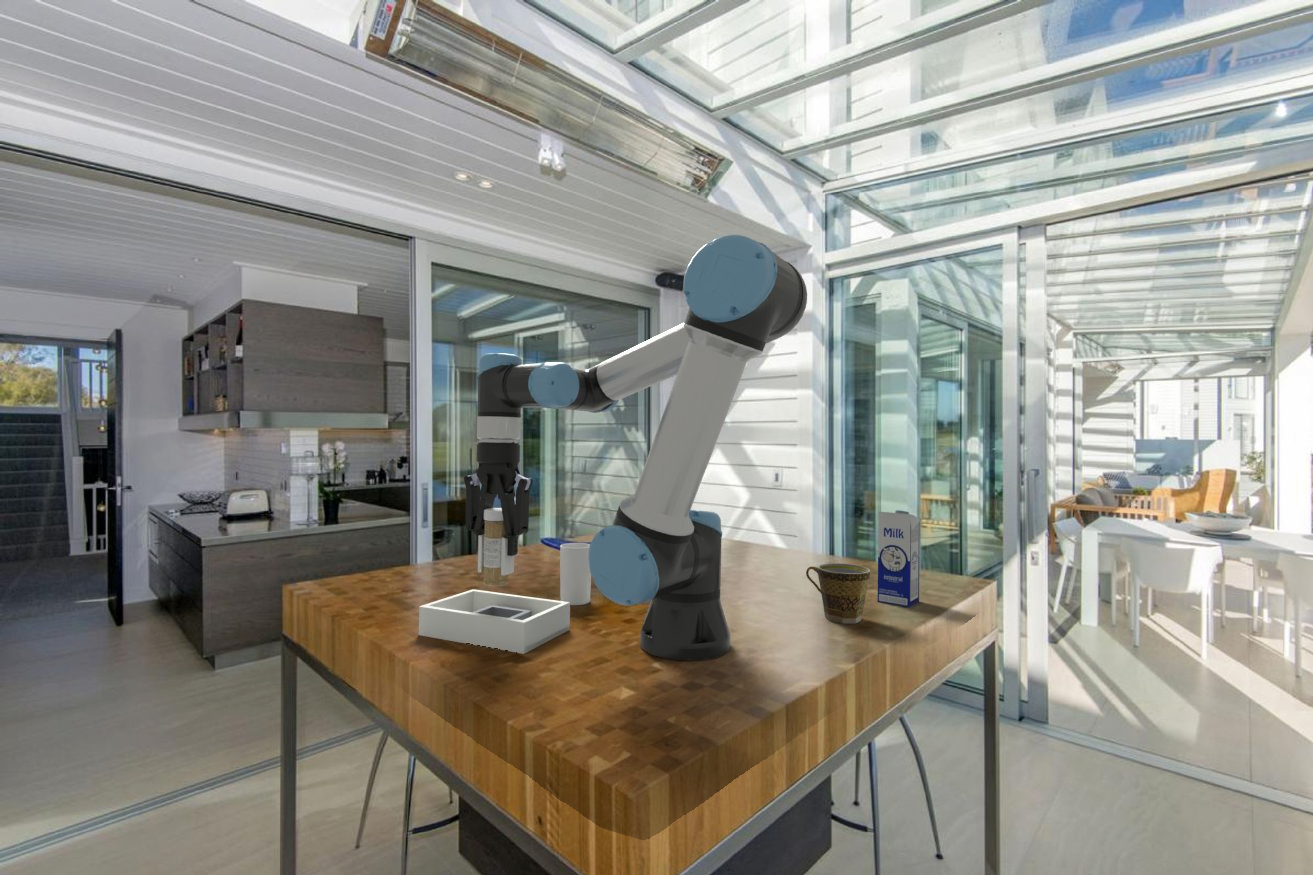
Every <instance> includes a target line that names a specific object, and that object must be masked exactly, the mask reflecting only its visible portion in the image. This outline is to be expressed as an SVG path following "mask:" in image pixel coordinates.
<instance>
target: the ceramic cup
mask: <svg viewBox="0 0 1313 875" xmlns="http://www.w3.org/2000/svg"><path fill="white" fill-rule="evenodd" d="M810 570H812V571H814V572H815V573H817V576H818V582H819V585H818V584H817V583H816V582H815V581H814V580H813V579H812V577H811V576H810V575H809V572H810ZM805 572H806V573H805V574H806V578H807V580H809V581H810V582H811V583H812V584H813V585H814V587H815V588H816V589H817V591H818V592H819V593H820V594H821V598H822V599H821V600H822V605H823V612H824V617H825V618H826V619H827V620H828V621H829V622H832V623H838V624H846V625H849V624H854V625H855V624H858V623H859V622H861V620H862V617H863V611H864V607H865V601H866V596H867V591H868V588H869V582H870V577H871V570H870V569H869V568H867V567H865V566H862V565H858V564H852V563H850V564H849V563H837V562H834V563H822V564H819V565H817V566H814V565H813V566H809V567H808V568H806V571H805Z"/></svg>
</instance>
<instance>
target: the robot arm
mask: <svg viewBox="0 0 1313 875" xmlns="http://www.w3.org/2000/svg"><path fill="white" fill-rule="evenodd" d="M682 286H683V287H682V288H683V289H682V290H683V294H684V295H685V302H686V303H687V305H688V307H689V309H688V310H687V313H686V315H685V316H686V317H685V320H684V322H682V323H680V324H679V325H678V324H677V325H676V326H674V327H672V328H670V329H668V330H666V331H664V332H662V333H660V334H658V335H655V336H653V337H652V338H650V339H648V340H646V341H643V342H641V343H639V344H637V345H635V346H633V347H630V348H629V349H627V350H625V351H623V352H620V353H619V354H617V355H614V356H612V357H610V358H608V359H606V360H603V361H602V362H600V363H598V364H597V365H594V366H592V367H589V368H587V369H579V368H574V367H571V365H569V364H568V363H566V362H554V361H545V362H542V363H541V362H539V363H538V362H537V363H529V364H527V363H526V364H523V360H522V357H520V356H519V355H516V354H511V353H505V352H504V353H501V352H499V353H498V352H497V353H494V352H491V353H484V354H483V355H481V356H480V358H479V363H478V373H477V377H476V378H477V422H476V439H477V440H478V439H479V440H480V442H477V444H476V458H475V459H476V462H477V463H478V466H477V467H478V468H477V470H476V472H475V473H473V474H470V475H465V476H463V482H464V485H465V489H466V490H465V493H466V498H465V501H466V503H465V528H466V530H467V531H471V532H473V534H475V542H474V543H475V545H474V546H475V548H474V550H475V553H477V572H478V573H484V565H483V563H484V534H485V520H484V510H485V509H489V508H494V504H495V500H496V497H497V498H498V500H499V501H500V508H502V514H503V520H504V527H505V533H506V535H503V537H504V538H502V552H501V575H504V576H505V575H508V576H509V575H511V574H513V573H515V556H516V555H518V552H519V551H518V550H519V549H518V548H519V537H520V536H521V535H525V534H527V533H528V532H529V521H530V517H529V516H530V495H531V494H530V492H531V488H532V486H533V483H534V480H533V478H532V477H525V476H523V475H521V471H520V469H519V464H520V461H521V445H520V443H519V442H518V441H517V440H520V439H521V417H522V409H523V408H527V409H528V408H529V409H532V408H538V409H551V410H552V409H553V410H568V411H579V412H588V413H591V414H592V413H595V414H597V413H603V412H605V413H606V412H610V411H612V410H613V409H614V408H615V407H616V406H617V404H618V403H619V401H620V400H621V399H625V398H627V397H629V396H632V395H633V394H636V393H638V392H640V391H643V390H645V389H647V388H649V387H653V386H655V385H657V384H659V383H661V382H665V381H666V380H668V379H671V378H673V377H675V376H676V377H675V380H674V383H673V386H672V388H671V391H670V393H669V397H668V399H667V403H666V405H665V408H664V411H663V413H662V416H661V418H660V421H659V425H658V427H657V430H656V433H655V435H654V437H653V442H652V444H651V446H650V449H649V452H648V456H647V458H646V461H645V464H644V467H643V469H642V472H641V475H640V478H639V479H638V480H639V481H638V482H637V483H638V484H637V486H636V488H635V491H634V493H633V494H632V495H630V496H628V497H625V498H623V499H622V500H621V501H620V502H619V506H618V508H617V511H616V514H615V516H614V519H613V521H612V524H610V525H607V526H605V527H604V528H602V529H601V530H599V531H597V533H596V534H595V535H594V536H593V538H592V540H591V541H590V543H589V544H590V547H589V553H588V563H589V569H590V573H591V576H592V577H593V582H594V584H595V586H596V588H597V589H598V590H599V591H600V593H601V594H602V595H603V596H605V598H607V599H608V600H610V601H611V602H613V603H615V604H617V605H621V606H629V607H630V606H634V605H640V604H642V605H643V604H646V603H649V605H648V609H647V612H646V614H645V617H644V620H643V624H642V626H641V630H640V642H639V643H640V647H641V649H642V650H643V651H644V652H646V653H648V654H650V655H653V656H656V657H660V658H663V659H669V660H676V661H701V660H702V661H703V660H709V659H715V658H719V657H721V656H724V655H725V654H727V653H728V652H729V651H730V649H731V632H730V629H729V628H730V627H729V626H728V622H727V618H726V615H725V611H724V608H723V605H722V602H721V601H722V600H721V585H722V584H721V583H722V582H721V581H722V578H721V577H722V576H721V575H722V571H721V570H722V537H723V531H722V520H721V519H722V518H721V517H720V515H719V514H718V513H716V512H714V511H705V510H695V509H692V506H693V504H694V501H695V499H696V496H697V493H698V491H699V488H700V486H701V483H702V481H703V478H704V475H705V474H706V470H707V468H708V465H709V462H710V460H711V457H712V456H713V452H714V449H715V447H716V444H717V441H718V439H719V436H720V433H721V431H722V428H723V427H724V423H725V420H726V418H727V415H728V412H729V410H730V408H731V405H732V402H733V399H734V398H735V394H736V392H737V389H738V386H739V384H740V381H741V379H742V377H743V373H744V371H745V368H746V366H747V363H748V362H749V361H750V360H752V359H754V358H757V357H758V356H760V355H762V353H763V352H764V348H765V346H766V345H767V344H769V343H771V342H774V341H776V340H778V339H781V338H782V337H783V336H785V335H787V334H789V333H790V332H791V331H792V330H793V329H794V328H795V327H796V326H797V325H798V324H799V323H800V322H801V319H802V317H803V315H804V313H805V310H806V308H807V304H808V291H807V286H806V283H805V280H804V278H803V276H802V274H801V273H800V272H799V271H798V269H797V268H796V267H795V266H794V265H793V264H791V263H789V261H786V260H784V259H783V258H781V256H779V255H778V254H776V253H775V252H774V251H772V249H771V248H769V247H768V246H767V245H766V244H765V243H763V242H759V241H757V240H756V239H752V238H750V237H749V236H745V235H741V234H727V235H722V236H719V237H717V238H715V239H713V240H711V241H710V242H707V243H705V244H704V245H703V246H702V247H700V248H699V249H698V250H697V252H696V253H695V254H694V255H693V257H692V258H691V259H690V261H689V263H688V265H687V267H686V270H685V272H684V276H683V284H682ZM515 487H516V490H515Z"/></svg>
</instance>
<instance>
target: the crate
mask: <svg viewBox="0 0 1313 875" xmlns="http://www.w3.org/2000/svg"><path fill="white" fill-rule="evenodd" d="M570 616H571V605H570V602H564V601H561V600H556V599H555V600H554V599H550V598H549V599H548V598H541V597H532V596H526V595H525V596H524V595H518V594H510V593H504V592H503V593H502V592H495V591H488V590H482V589H481V590H480V589H475V588H474V589H473V588H472V589H469V590H467V591H464V592H461V593H457V594H454V595H450V596H448V597H444V598H441V599H438V600H435V601H432V602H429V603H426V604H423V605H420V606H419V607H418V636H421V637H426V638H427V637H428V638H432V639H439V640H443V641H451V642H454V643H460V644H461V643H462V644H466V643H470V644H469V645H471V644H473V646H477V645H480V646H479V647H482V646H486V647H485V648H488V647H491V648H490V649H494V648H498V649H497V650H499V649H500V651H505V650H508V651H507V652H512V653H516V652H517V654H521V655H522V654H524V655H525V654H527V653H528V652H530V651H532V650H534V649H536V648H538V647H540V646H542V645H544V644H545V643H548V642H549V641H551V640H553V639H555V638H557V637H558V636H560V635H562V634H565V633H567V632H569V631H570V630H571V629H570V625H571V624H570V621H571V620H570V618H571V617H570Z"/></svg>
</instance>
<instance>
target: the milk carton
mask: <svg viewBox="0 0 1313 875" xmlns="http://www.w3.org/2000/svg"><path fill="white" fill-rule="evenodd" d="M877 514H878V516H877V517H878V519H877V520H878V527H877V531H878V532H877V534H878V536H877V539H878V540H877V542H878V543H877V602H878V603H883V604H888V605H889V604H890V605H895V606H899V607H900V606H901V607H905V608H910V607H912V606H914V605H916V604H917V603H919V602H920V556H921V554H920V548H921V547H920V546H921V545H920V544H921V542H920V539H921V538H920V537H921V534H920V531H921V519H920V518H918V517H917V516H916V515H914V514H911V513H910V512H908V511H906V510H899V509H898V510H895V512H889V511H877Z"/></svg>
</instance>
